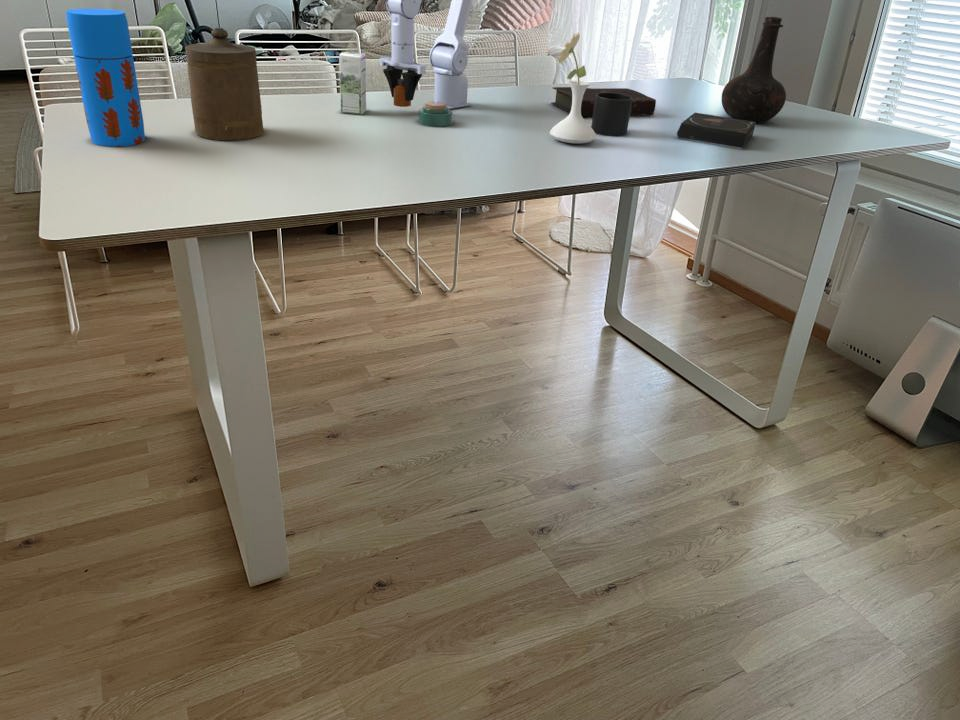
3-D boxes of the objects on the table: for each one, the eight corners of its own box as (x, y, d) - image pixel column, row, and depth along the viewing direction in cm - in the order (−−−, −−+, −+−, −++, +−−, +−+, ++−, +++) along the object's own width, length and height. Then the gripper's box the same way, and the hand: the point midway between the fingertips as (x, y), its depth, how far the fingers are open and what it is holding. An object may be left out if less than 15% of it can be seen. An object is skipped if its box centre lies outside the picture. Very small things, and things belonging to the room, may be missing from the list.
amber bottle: (402, 102, 200) (402, 77, 197) (414, 105, 198) (414, 80, 194) (390, 104, 197) (390, 79, 194) (402, 107, 195) (402, 82, 191)
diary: (654, 116, 215) (657, 98, 213) (578, 118, 207) (580, 99, 204) (621, 103, 230) (624, 86, 227) (549, 104, 221) (551, 86, 219)
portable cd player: (689, 126, 206) (692, 112, 204) (752, 137, 200) (755, 122, 198) (675, 138, 194) (678, 122, 191) (742, 149, 188) (746, 133, 185)
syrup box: (366, 110, 198) (366, 52, 191) (361, 115, 193) (360, 55, 186) (345, 108, 198) (344, 50, 191) (340, 113, 193) (338, 53, 186)
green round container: (434, 117, 196) (434, 98, 194) (458, 123, 192) (459, 104, 189) (411, 121, 190) (412, 102, 188) (436, 128, 186) (437, 108, 183)
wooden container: (234, 121, 178) (224, 22, 167) (276, 133, 171) (269, 30, 160) (181, 131, 167) (166, 25, 156) (223, 144, 160) (211, 35, 149)
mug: (641, 133, 195) (647, 98, 191) (608, 137, 189) (614, 101, 184) (615, 125, 202) (621, 90, 197) (583, 129, 195) (588, 93, 191)
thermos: (157, 138, 161) (137, 12, 149) (121, 149, 152) (97, 16, 140) (116, 131, 164) (94, 7, 151) (78, 141, 155) (51, 10, 143)
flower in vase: (568, 133, 190) (581, 27, 178) (604, 143, 184) (620, 34, 171) (535, 140, 182) (546, 29, 169) (570, 150, 175) (585, 36, 163)
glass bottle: (713, 121, 215) (737, 15, 201) (720, 110, 230) (742, 11, 216) (777, 130, 210) (806, 22, 196) (780, 118, 225) (807, 18, 210)
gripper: (371, 40, 191) (372, 95, 198) (412, 48, 183) (411, 105, 190) (390, 38, 196) (390, 92, 202) (431, 46, 188) (430, 102, 195)
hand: (402, 98), depth 197 cm, fingers closed on amber bottle, 4 cm apart
